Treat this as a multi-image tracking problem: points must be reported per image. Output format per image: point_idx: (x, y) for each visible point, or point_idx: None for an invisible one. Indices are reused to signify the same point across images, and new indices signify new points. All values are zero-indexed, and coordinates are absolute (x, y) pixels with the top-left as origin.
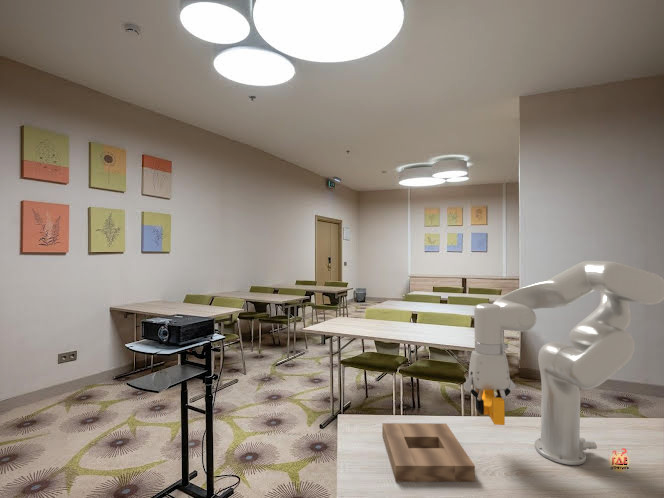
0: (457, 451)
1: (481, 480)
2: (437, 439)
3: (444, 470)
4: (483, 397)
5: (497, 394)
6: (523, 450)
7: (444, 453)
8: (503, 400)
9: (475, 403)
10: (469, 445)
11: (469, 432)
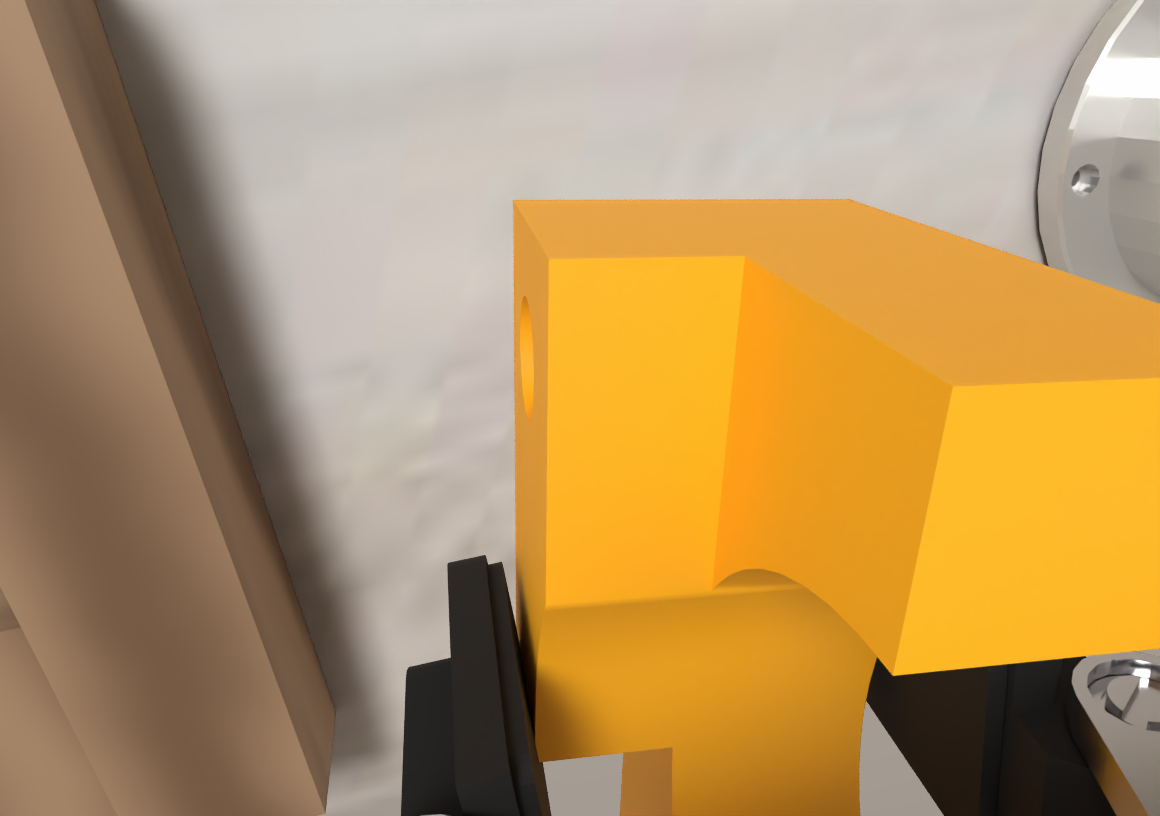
0: (171, 648)
1: (393, 683)
2: None
3: None
4: (684, 508)
5: (1076, 694)
6: (921, 156)
7: (23, 720)
8: None
9: (404, 726)
10: (376, 149)
11: None
